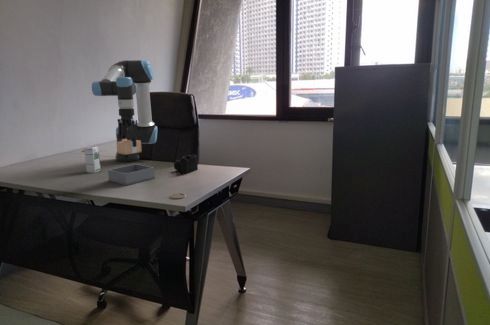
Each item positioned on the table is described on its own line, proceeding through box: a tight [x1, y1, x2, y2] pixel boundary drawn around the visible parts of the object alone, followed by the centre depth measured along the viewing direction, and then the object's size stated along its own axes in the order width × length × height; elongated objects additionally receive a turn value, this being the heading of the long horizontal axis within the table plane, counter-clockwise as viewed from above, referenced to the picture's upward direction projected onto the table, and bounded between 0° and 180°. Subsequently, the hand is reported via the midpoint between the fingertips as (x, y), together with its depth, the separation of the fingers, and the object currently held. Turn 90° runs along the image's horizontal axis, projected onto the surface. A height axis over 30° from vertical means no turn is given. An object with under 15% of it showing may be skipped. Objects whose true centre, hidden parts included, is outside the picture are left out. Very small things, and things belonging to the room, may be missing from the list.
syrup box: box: [83, 145, 102, 174], centre depth 210 cm, size 6×6×14 cm
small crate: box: [115, 140, 143, 155], centre depth 189 cm, size 10×7×6 cm
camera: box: [173, 153, 199, 175], centre depth 210 cm, size 14×11×10 cm
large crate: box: [107, 163, 156, 186], centre depth 192 cm, size 18×16×6 cm
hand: (129, 152), depth 190 cm, fingers closed on small crate, 7 cm apart
